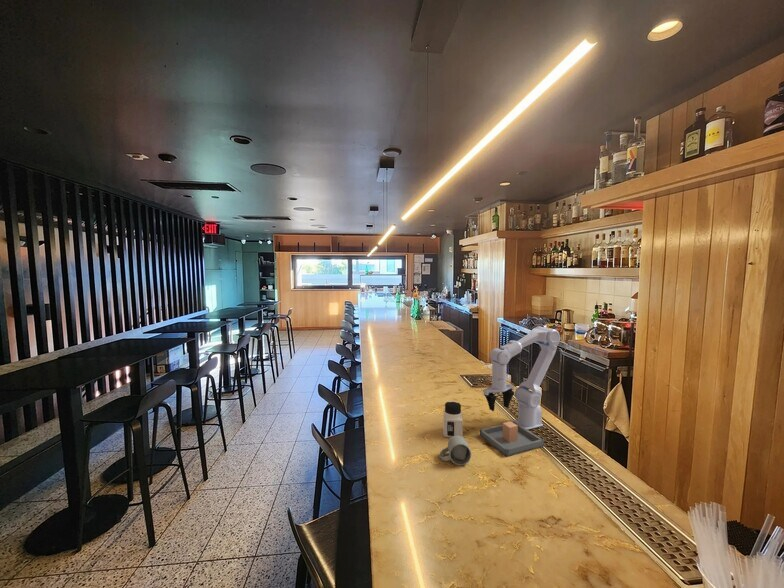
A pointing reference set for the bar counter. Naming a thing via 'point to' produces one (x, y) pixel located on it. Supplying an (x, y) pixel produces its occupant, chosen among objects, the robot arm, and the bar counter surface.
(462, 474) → the bar counter surface
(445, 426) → the container
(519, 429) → the charcoal tray
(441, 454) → the ceramic mug
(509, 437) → the terracotta block
